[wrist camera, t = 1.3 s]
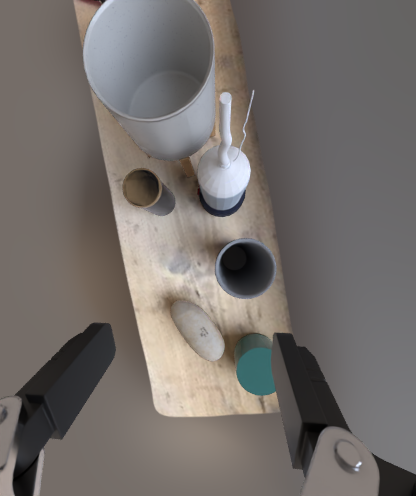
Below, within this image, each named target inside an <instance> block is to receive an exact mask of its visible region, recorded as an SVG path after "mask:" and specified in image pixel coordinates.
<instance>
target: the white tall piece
mask: <svg viewBox="0 0 416 496" xmlns="http://www.w3.org/2000/svg"><path fill="white" fill-rule="evenodd" d="M253 94H254V90H253V92H252V97H251V101H250V105H249V109H248V113H247V117H246V121H245V123H244V125H243V132H244V135H245V136H244V139H245V137H246V134H245V131H244V127H245V124H246V122H247V119H248V115H249V111H250V106H251V102H252V98H253ZM230 112H231V95H230V94H229V93H227V92H224V93H222V94H221V96H220V109H219V114H220V124H219V132H220V137H221V139H222V141H221V143H220V145H218V146H214V147H213V148H211V149H209V150H208V151H207V152H206V153H205V154H204V155H203V156H202V157H201V160H200V162H199V164H198V171H197V177H198V181H199V188H198V193H197V194H198V195H199V197H200V201H201V203H202V205H203V207H204V209H205V210H206V211H208V212H209V213H210V214H212V215H214V216H219V217H225V216H229V215H231V214H233V213H235V212H236V211H237V210H238V209H239V208H240V206H241V205H242V203H243V201H244V198H245V191H246V190H245V188H246V186H247V184H248V182H249V178H250V165H249V161H248V159H247V157H246V156H245V154H244V153H243V152H242V151H241V150H240V149H241V146H242V143H243V141H244V139H243V141H242V142H241V145H240V149H238V148H236V147H234V146H231V143H232V137H231V134H230Z"/></svg>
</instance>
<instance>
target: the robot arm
mask: <svg viewBox="0 0 416 496" xmlns="http://www.w3.org/2000/svg"><path fill="white" fill-rule="evenodd" d="M105 1H106V0H100V2H101V4H103V3H104V2H105ZM115 351H116V347H115V342H114V338H113V333H112V329H111V325H110V324H109V323H92V324H90V326H89V327H88V328H87V329H86V330H85V331H84V332H83V333H80V334H78V335H77V336H75V337H73V338H72V339H70V340H69V341H68V342H67V343H66V344H65V345H64V346H63V347H62V348H61V349H60V350H59V352H57V353H56V354H55V355H54V356H53V357H52V358H51V360H49V361H48V362H47V363H46V364H45V365H44V366H43V367H42V368H41V369H40V370H39V371H38V372H37V373H36V375H34V376H33V377H32V378H31V379H30V380H29V381H28V382H27V383H26V384H25V385H24V386H23V388H21V390H20V391H18V392H17V393H16V394H15V395H14V396H7V397H4V398H1V399H0V496H39V494H40V486H41V478H42V470H43V462H44V454H45V450H44V446H45V444H46V443H47V441H48V440H49V438H53V439H63V437H64V435H65V434H66V432H67V431H68V429H69V428H70V426H71V425H72V423H73V421H74V420H75V418H76V416H77V415H78V414H79V412H80V411H81V409H82V407H83V406H84V404H85V403H86V401H87V399H88V398H89V396H90V395H91V393H92V392H93V390H94V388H95V387H96V385H97V384H98V382H99V381H100V379H101V378H102V376H103V375H104V373H105V372H106V370H107V368H108V367H109V365H110V364H111V362H112V360H113V358H114V356H115ZM271 369H272V375H273V380H274V384H275V389H276V393H277V398H278V402H279V407H280V412H281V416H282V421H283V425H284V430H285V434H286V439H287V443H288V448H289V452H290V457H291V462H292V466H293V468H295V469H302V470H303V473H304V477H305V480H304V483H303V486H302V489H301V492H300V495H299V496H416V475H415V474H413V473H411V472H409V471H407V470H404V469H402V468H400V467H398V466H395V465H393V464H391V463H389V462H386V461H384V460H382V459H380V458H379V457H377V456H376V455H374V454H373V453H371V452H370V451H369V450H368V448H367V447H366V446H365V445H364V444H363V442H362V441H361V440H359V439H358V438H357V437H356V436H355V435H353V434H352V432H351V431H350V429H349V428H348V426H347V424H346V421H345V419H344V417H343V415H342V413H341V411H340V409H339V407H338V405H337V403H336V401H335V398H334V396H333V394H332V392H331V390H330V388H329V386H328V384H327V382H326V381H325V377H324V375H323V373H322V372H321V370H320V367H319V365H318V363H317V361H316V359H315V357H314V356H313V355H312V354H311V353H310V352H309V351H308V350H307V348H306V347H299V346H297V345H296V343H295V340H294V338H293V335H292V334H291V333H274V335H273V343H272V352H271Z"/></svg>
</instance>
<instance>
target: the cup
mask: <svg viewBox="0 0 416 496" xmlns="http://www.w3.org/2000/svg"><path fill="white" fill-rule="evenodd" d="M215 275H216V278H217V281H218V283H219V285H220V286H221V287H222V289H223V290H224V291H226V292H227V293H228V294H230V295H232V296H233V297H237V298H241V299H251V298H255V297H258V296H260V295H262V294H263V293H264V292H266V291H267V290H268V289H269V287H270V286H271V285H272V283H273V281H274V278H275V275H276V262H275V259H274V256H273V254H272V252H271V251H270V250H269V249H268V247H267V246H265V245H264V244H263V243H261V242H259V241H257V240H254V239H249V238H242V239H237V240H234V241H232V242H230V243H228V244H227V245H226V246H225V247H223V249H222V250H221V251H220V253H219V254H218V256H217V259H216V262H215Z"/></svg>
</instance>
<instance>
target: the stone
mask: <svg viewBox="0 0 416 496" xmlns="http://www.w3.org/2000/svg"><path fill="white" fill-rule="evenodd" d="M171 317H172V319H173V321H174V323H175V325H176V327H177V328H178V330H179V332H180V333H181V335H182V336H183V338H184V339H185V340H186V342H187V343H188V344H189V346H190V347H191V348H192V349H193V350H194V351H195V352H196V353H197V354H198V355H199V356H201V357H202V358H204V359H206V360H208V361H216V360H218V359H219V358H221V357H222V355H223V353H224V349H225V345H224V340H223V337H222V335H221V333H220V331H219V330H218V328H217V327H216V325H215V324H214V322H213V321H212V320H211V319H210V317H209V316H208V315H207V314H206V313H205V312H204V311H203V310H202V309H201V308H200V307H199V306H197V305H196V304H194V303H192V302H188V301H176V302H175V303H174V304H173V305H172V307H171Z"/></svg>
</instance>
